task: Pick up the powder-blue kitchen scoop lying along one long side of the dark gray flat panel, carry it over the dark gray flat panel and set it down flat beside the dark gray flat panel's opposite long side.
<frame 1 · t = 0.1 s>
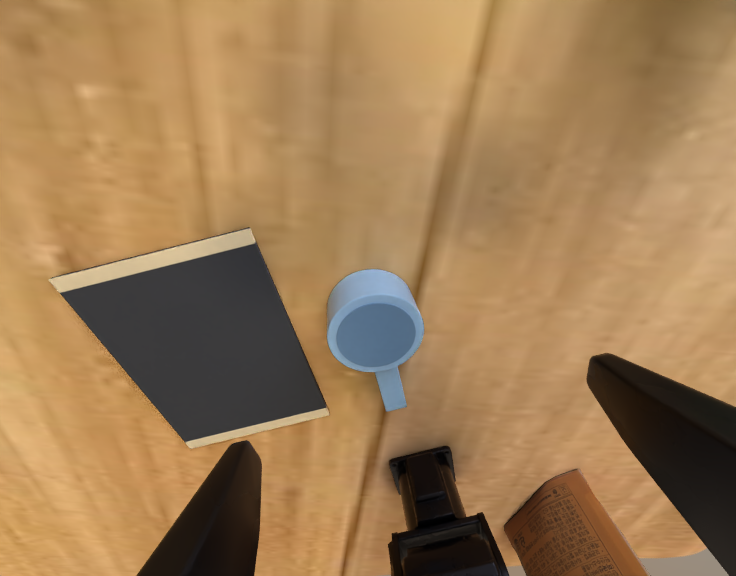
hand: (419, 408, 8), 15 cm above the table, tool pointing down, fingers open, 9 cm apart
dark gray flat panel: (215, 356, 25), on the table
pancake mix bag: (533, 503, 42), on the table
scoop: (370, 307, 24), on the table
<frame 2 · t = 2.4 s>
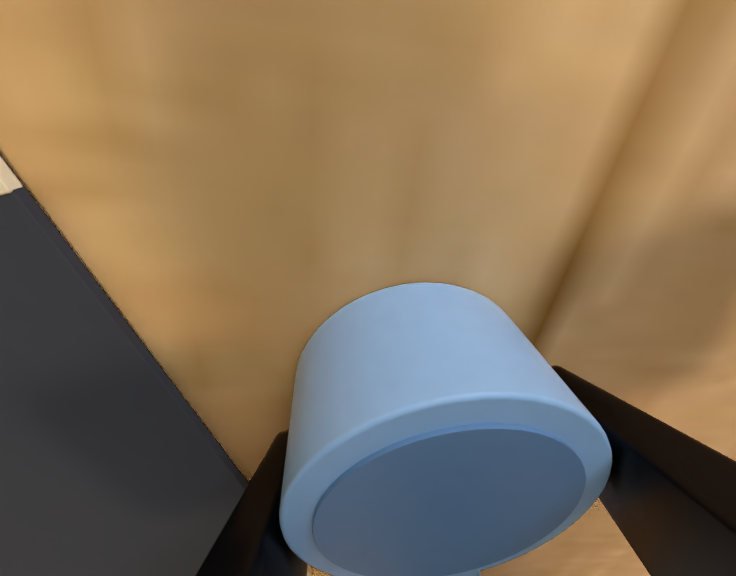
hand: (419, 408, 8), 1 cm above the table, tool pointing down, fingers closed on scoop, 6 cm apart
dark gray flat panel: (19, 498, 10), on the table
scoop: (409, 379, 9), on the table, touching gripper
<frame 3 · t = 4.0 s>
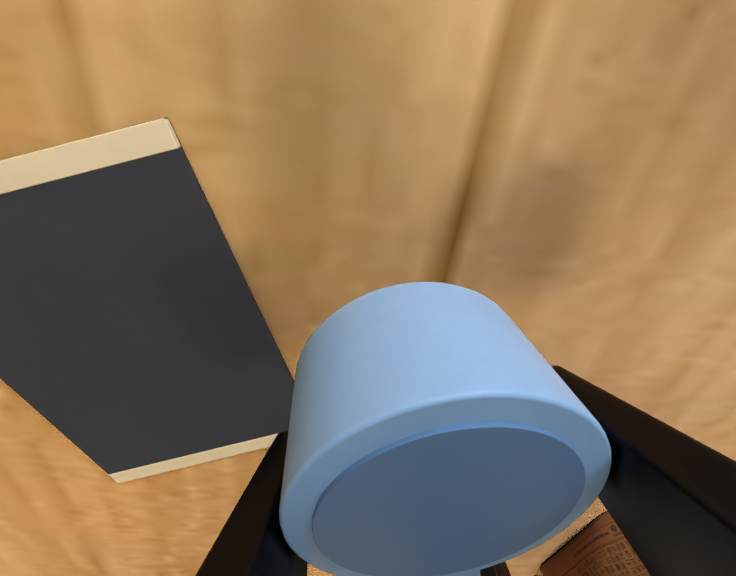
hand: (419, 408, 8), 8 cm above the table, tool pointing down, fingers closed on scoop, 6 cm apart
dark gray flat panel: (137, 349, 16), on the table
pancake mix bag: (580, 539, 33), on the table
scoop: (409, 378, 9), point 7 cm above the table, touching gripper
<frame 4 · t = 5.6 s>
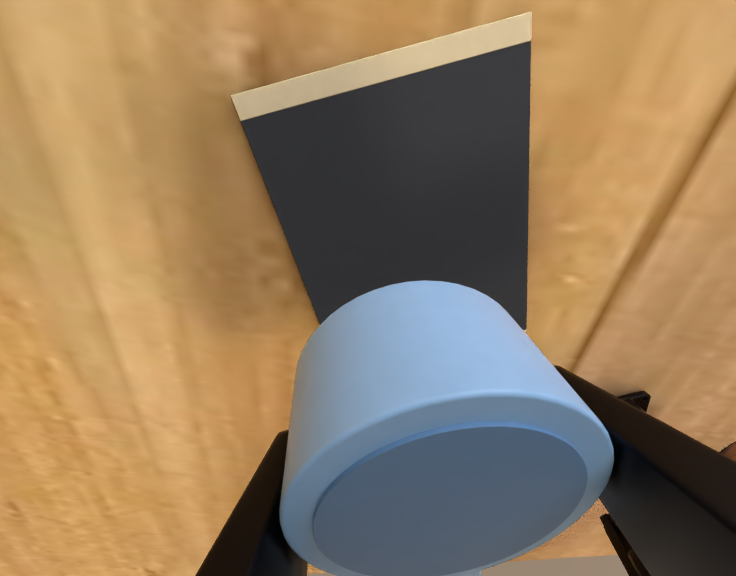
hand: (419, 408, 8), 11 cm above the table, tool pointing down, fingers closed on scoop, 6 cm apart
dark gray flat panel: (412, 245, 18), on the table
scoop: (410, 378, 9), point 10 cm above the table, touching gripper
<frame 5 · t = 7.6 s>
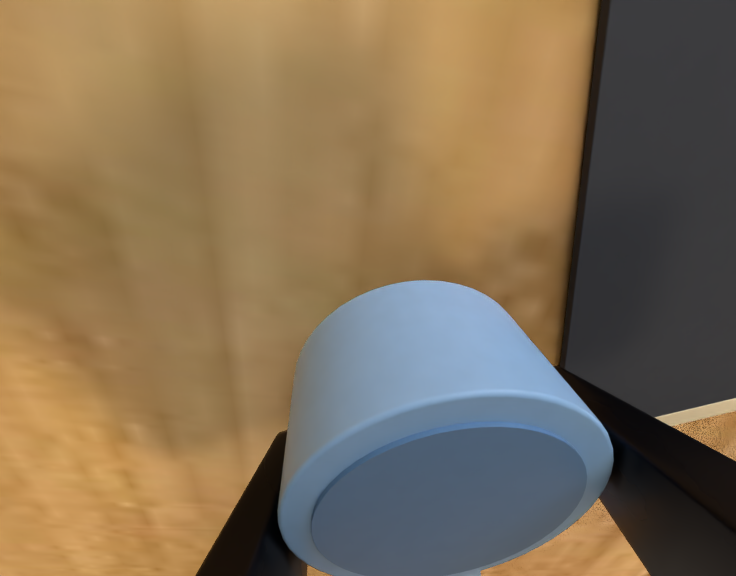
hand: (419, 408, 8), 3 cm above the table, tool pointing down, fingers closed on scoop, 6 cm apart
scoop: (409, 378, 9), point 2 cm above the table, touching gripper
when the fingers open (1 cm above the table, at t = 8.8 s): scoop stays where it is, on the table.
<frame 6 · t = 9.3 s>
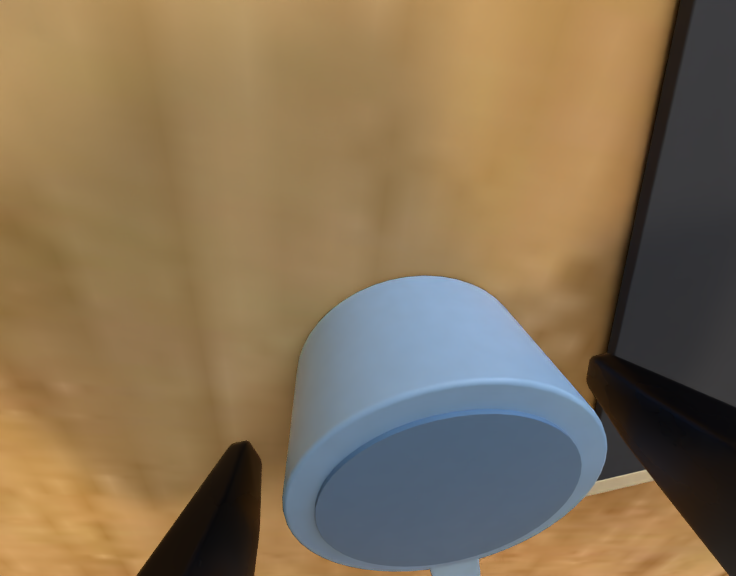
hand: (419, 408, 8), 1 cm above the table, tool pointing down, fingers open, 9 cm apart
scoop: (409, 372, 9), on the table
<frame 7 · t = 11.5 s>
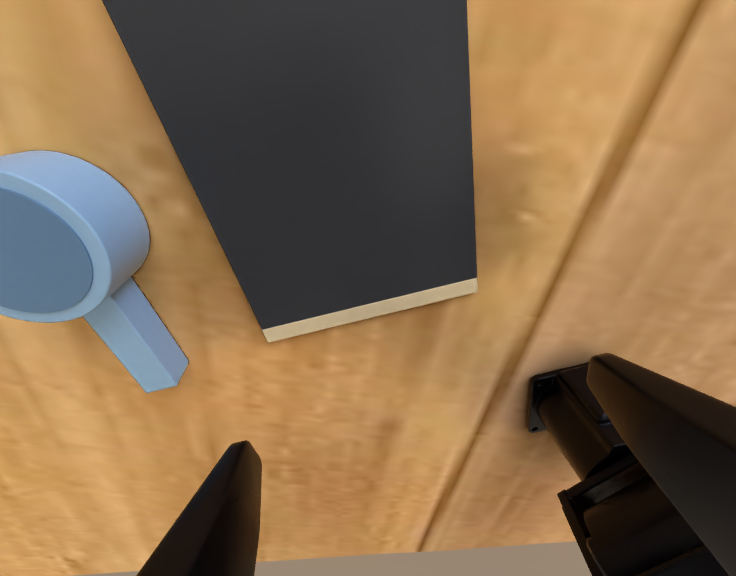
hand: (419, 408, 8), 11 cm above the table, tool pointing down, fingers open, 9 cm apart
dark gray flat panel: (334, 162, 15), on the table
scoop: (74, 223, 15), on the table
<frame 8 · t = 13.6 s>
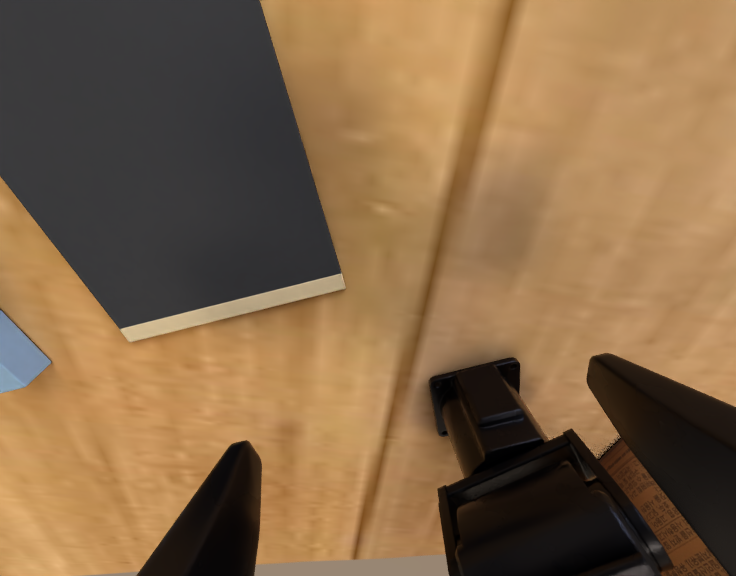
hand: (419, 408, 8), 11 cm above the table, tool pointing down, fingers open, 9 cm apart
dark gray flat panel: (154, 152, 15), on the table
pancake mix bag: (610, 458, 32), on the table
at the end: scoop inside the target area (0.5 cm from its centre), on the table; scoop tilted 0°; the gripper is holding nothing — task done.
